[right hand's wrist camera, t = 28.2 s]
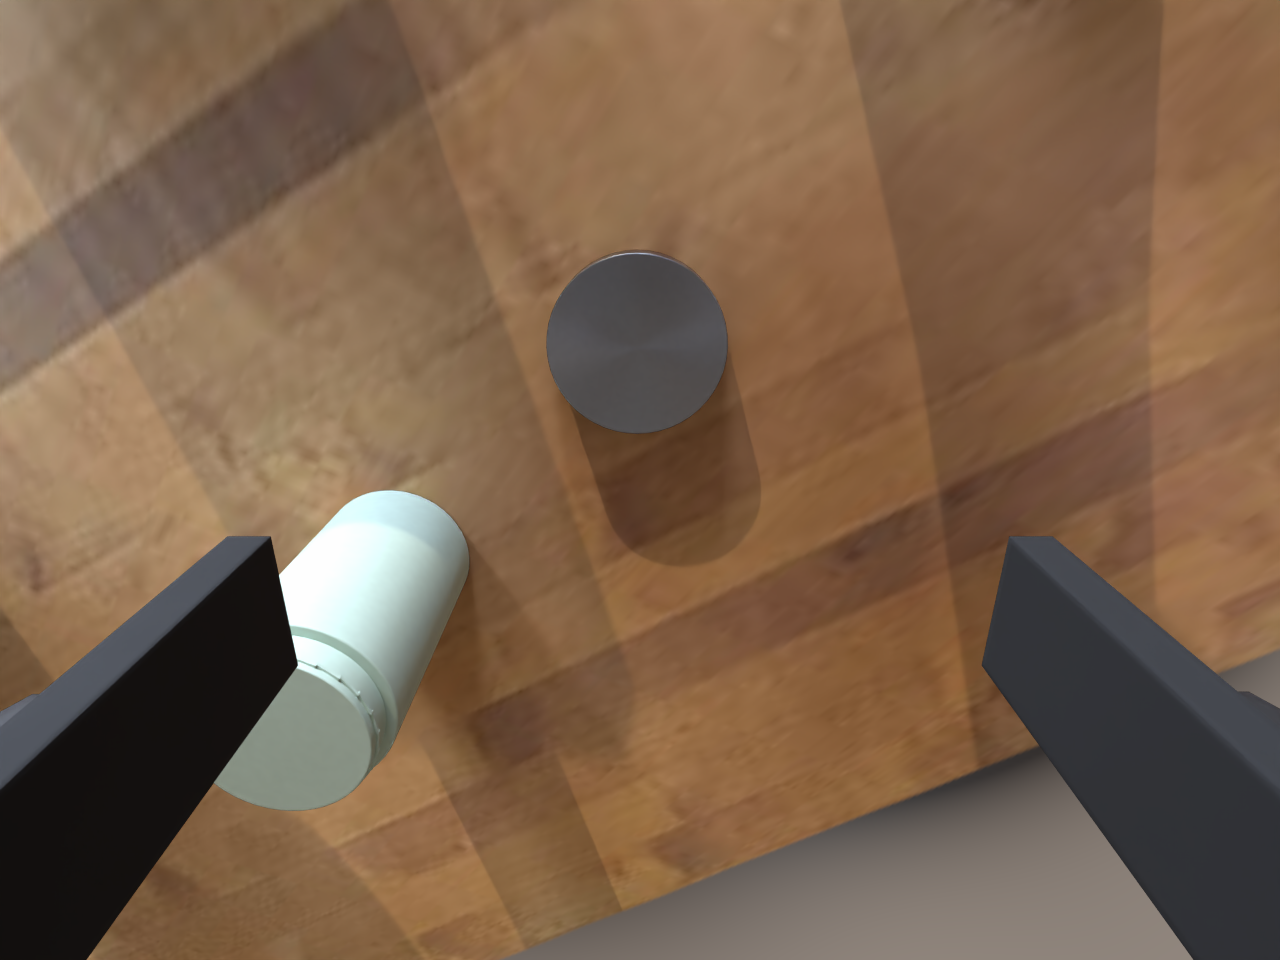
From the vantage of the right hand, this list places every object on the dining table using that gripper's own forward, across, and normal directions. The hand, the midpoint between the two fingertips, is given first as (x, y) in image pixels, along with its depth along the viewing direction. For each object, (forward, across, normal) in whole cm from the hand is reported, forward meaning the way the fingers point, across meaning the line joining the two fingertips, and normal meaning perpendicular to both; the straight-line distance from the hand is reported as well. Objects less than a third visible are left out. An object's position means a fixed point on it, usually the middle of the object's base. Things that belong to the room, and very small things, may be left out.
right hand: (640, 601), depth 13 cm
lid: (+24, 0, 0) cm, 24 cm away
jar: (+26, +14, +13) cm, 32 cm away
